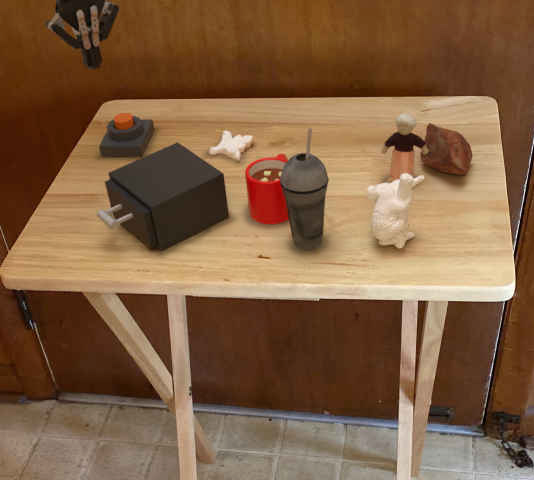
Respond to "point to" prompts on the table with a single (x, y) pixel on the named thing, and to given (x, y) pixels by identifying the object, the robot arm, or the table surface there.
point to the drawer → (128, 214)
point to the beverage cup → (305, 197)
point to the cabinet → (176, 192)
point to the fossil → (446, 150)
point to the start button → (123, 121)
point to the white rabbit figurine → (392, 210)
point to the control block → (127, 138)
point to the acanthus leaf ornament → (232, 145)
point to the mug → (266, 190)
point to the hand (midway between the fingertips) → (93, 67)
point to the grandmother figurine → (403, 147)
